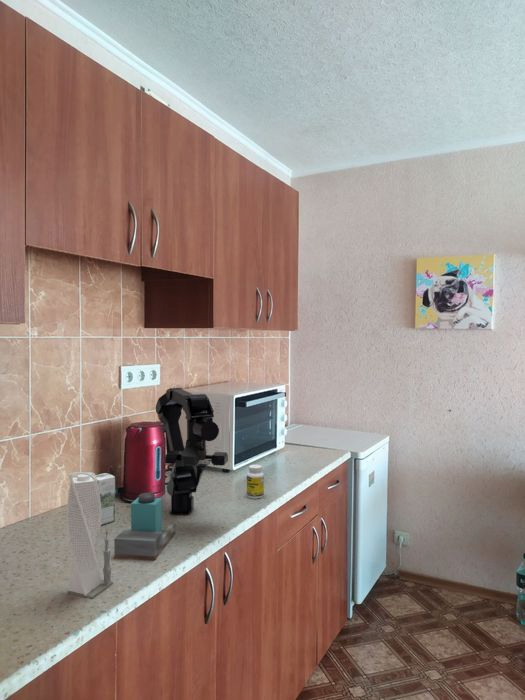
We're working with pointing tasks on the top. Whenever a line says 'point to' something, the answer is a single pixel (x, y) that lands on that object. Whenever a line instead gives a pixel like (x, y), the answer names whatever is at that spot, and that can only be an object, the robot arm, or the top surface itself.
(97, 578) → the skyscraper
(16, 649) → the top surface
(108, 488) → the syrup box
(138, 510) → the teal tall block
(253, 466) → the pill bottle
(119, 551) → the mount
